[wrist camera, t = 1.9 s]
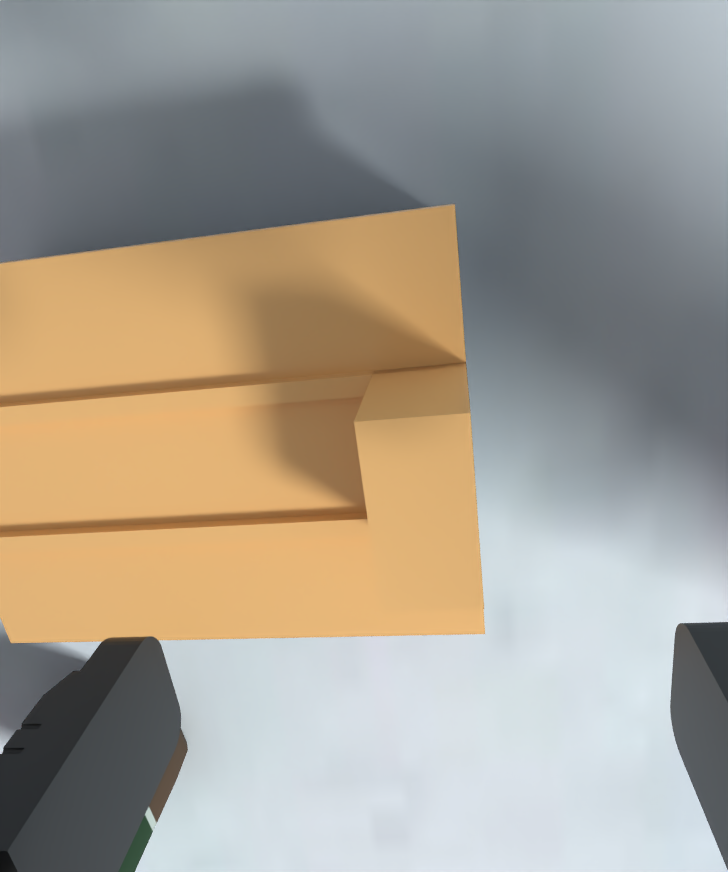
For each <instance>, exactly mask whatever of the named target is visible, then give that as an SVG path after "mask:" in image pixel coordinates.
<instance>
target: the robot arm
mask: <svg viewBox="0 0 728 872" xmlns="http://www.w3.org/2000/svg"><path fill="white" fill-rule="evenodd" d="M670 708H671V720H672V726H673V732H674V736H675V740H676V744H677V747H678V750H679V752H680V755H681V757H682V760H683V762H684V765H685V767H686V770H687V772H688V774H689V777H690V779H691V782H692V784H693V787H694V789H695V791H696V794H697V796H698V799H699V801H700V804H701V806H702V808H703V811H704V813H705V816H706V818H707V821H708V823H709V825H710V828H711V830H712V833H713V835H714V838H715V840H716V843H717V845H718V847H719V850H720V852H721V855H722V857H723V860H724V862H725V864H726V867H727V869H728V622H713V623H680V624H679V625H678V626H677V628H676V632H675V643H674V658H673V673H672V687H671V704H670ZM180 727H181V713H180V707H179V703H178V700H177V696H176V693H175V690H174V687H173V683H172V680H171V677H170V673H169V670H168V667H167V664H166V660H165V657H164V654H163V650H162V647H161V645H160V643H159V641H158V640H157V639H156V638H155V637H152V636H145V637H111V638H107V639H105V640H104V641H103V642H102V643H101V644H100V645H99V646H98V648H97V649H96V650H95V652H94V653H93V655H92V656H91V657H90V659H89V660H88V661H87V663H86V664H85V666H84V667H83V668H82V670H81V671H73V672H72V673H71V674H69V675H68V676H67V677H66V678H64V679H63V680H62V681H61V682H59V683H58V684H57V685H56V686H54V687H53V688H52V689H51V690H50V691H48V692H47V693H46V694H45V695H43V697H42V698H41V699H40V701H39V702H38V703H37V704H36V706H35V707H34V708H33V710H32V711H31V712H30V714H29V715H28V716H27V718H26V719H25V720H24V721H23V723H22V728H21V730H17V731H16V732H15V733H14V734H13V736H12V737H11V738H10V740H9V741H8V742H7V744H6V745H5V746H4V748H3V749H4V750H3V753H2V754H0V872H118V871H119V869H120V867H121V865H122V863H123V861H124V859H125V856H126V854H127V852H128V850H129V848H130V846H131V844H132V841H133V839H134V837H135V835H136V833H137V831H138V828H139V826H140V824H141V822H142V820H143V818H144V816H145V813H146V811H147V809H148V807H149V805H150V803H151V800H152V798H153V796H154V794H155V792H156V790H157V788H158V785H159V783H160V781H161V779H162V777H163V775H164V773H165V770H166V768H167V766H168V764H169V762H170V760H171V757H172V755H173V753H174V751H175V749H176V746H177V743H178V739H179V734H180Z"/></svg>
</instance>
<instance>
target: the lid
mask: <svg viewBox="0 0 728 872" xmlns="http://www.w3.org/2000/svg"><path fill="white" fill-rule="evenodd" d="M483 609H484V601H483V586H482V572H481V558H480V543H479V529H478V515H477V500H476V486H475V472H474V457H473V443H472V428H471V414H470V403H469V391H468V380H467V368H466V356H465V341H464V327H463V313H462V299H461V284H460V270H459V256H458V242H457V227H456V213H455V204H447V205H440V206H432V207H424V208H416V209H409V210H401V211H393V212H386V213H378V214H370V215H362V216H355V217H347V218H339V219H332V220H324V221H316V222H308V223H301V224H293V225H285V226H278V227H270V228H262V229H254V230H247V231H239V232H231V233H224V234H216V235H208V236H201V237H193V238H185V239H177V240H170V241H162V242H154V243H147V244H139V245H131V246H123V247H116V248H108V249H100V250H93V251H85V252H77V253H69V254H62V255H54V256H46V257H39V258H31V259H23V260H15V261H8V262H0V618H1V620H2V623H3V625H4V628H5V630H6V633H7V635H8V637H9V640H10V642H11V643H42V642H93V641H104V640H105V639H107V638H111V637H145V636H152V637H155V638H156V639H157V640H196V639H247V638H299V637H350V636H402V635H453V634H485V626H484V612H483Z"/></svg>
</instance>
